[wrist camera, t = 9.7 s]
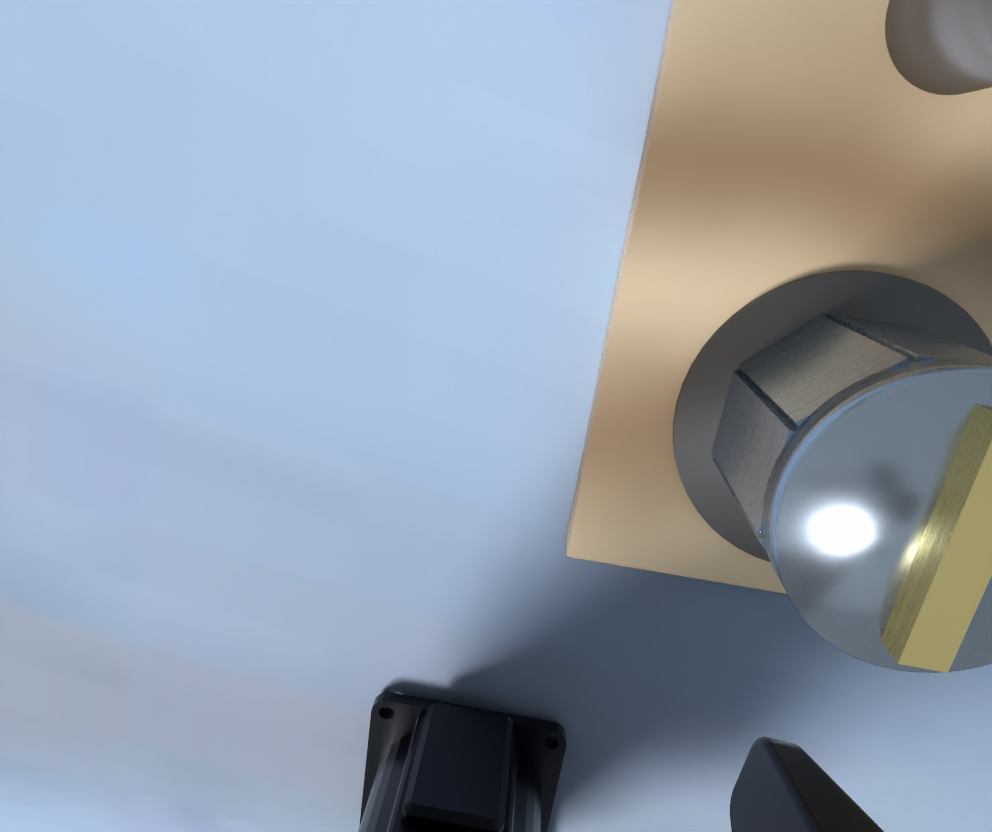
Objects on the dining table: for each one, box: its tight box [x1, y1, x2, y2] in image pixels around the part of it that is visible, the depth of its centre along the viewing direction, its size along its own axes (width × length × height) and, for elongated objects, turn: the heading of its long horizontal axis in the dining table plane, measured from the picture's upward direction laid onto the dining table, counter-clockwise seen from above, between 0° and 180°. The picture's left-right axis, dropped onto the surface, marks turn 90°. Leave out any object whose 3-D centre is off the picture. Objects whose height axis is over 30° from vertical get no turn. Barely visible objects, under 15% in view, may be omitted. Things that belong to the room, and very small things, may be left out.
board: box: [566, 0, 992, 594], centre depth 15 cm, size 20×12×5 cm, turn 172°
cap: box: [711, 313, 992, 673], centre depth 14 cm, size 6×6×6 cm
